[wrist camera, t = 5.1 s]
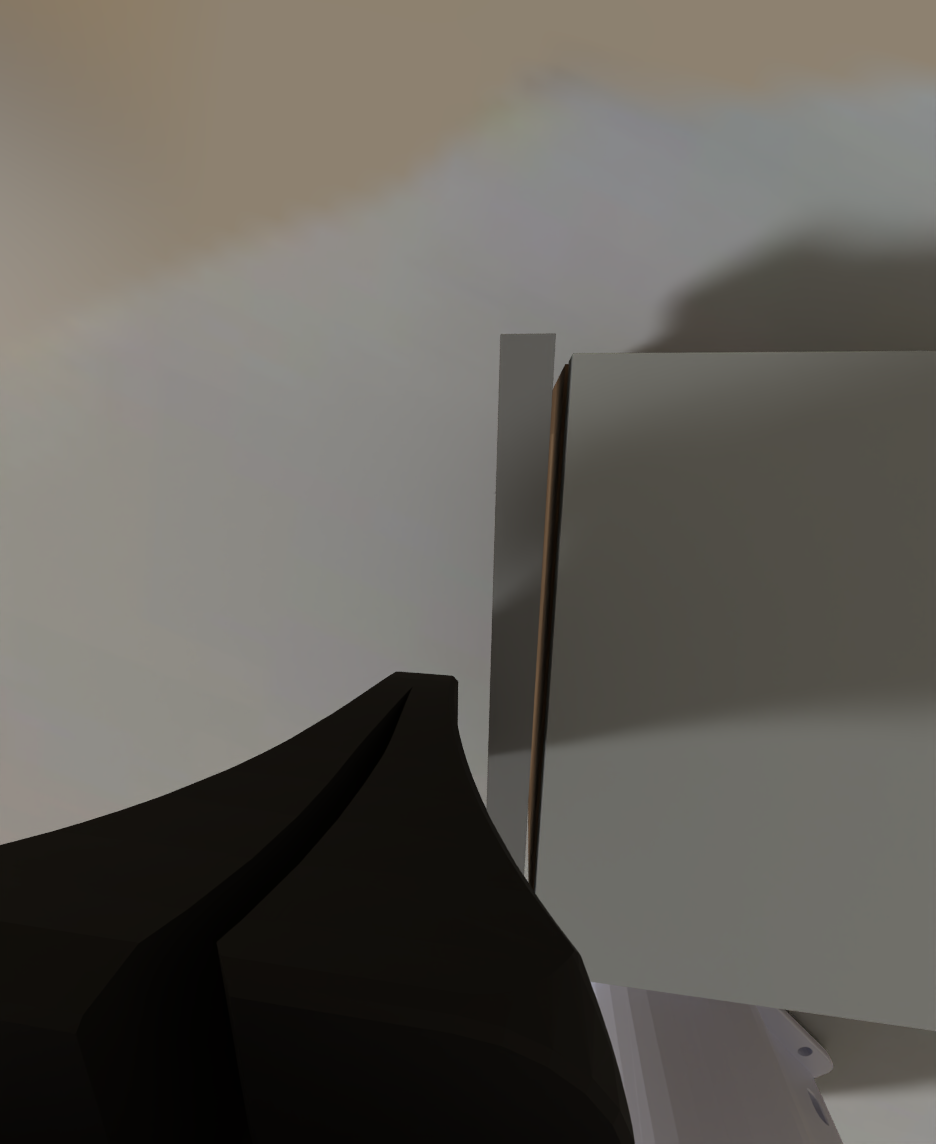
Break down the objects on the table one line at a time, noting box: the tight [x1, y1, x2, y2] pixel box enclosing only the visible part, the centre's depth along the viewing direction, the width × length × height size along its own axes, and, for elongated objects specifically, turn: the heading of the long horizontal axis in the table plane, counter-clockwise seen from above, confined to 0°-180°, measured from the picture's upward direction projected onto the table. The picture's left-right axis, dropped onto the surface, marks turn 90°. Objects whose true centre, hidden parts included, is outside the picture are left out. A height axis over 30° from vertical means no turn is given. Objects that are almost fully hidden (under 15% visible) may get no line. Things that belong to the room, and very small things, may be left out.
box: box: [528, 364, 569, 891], centre depth 12 cm, size 12×14×5 cm
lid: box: [487, 334, 936, 1031], centre depth 10 cm, size 13×15×3 cm
